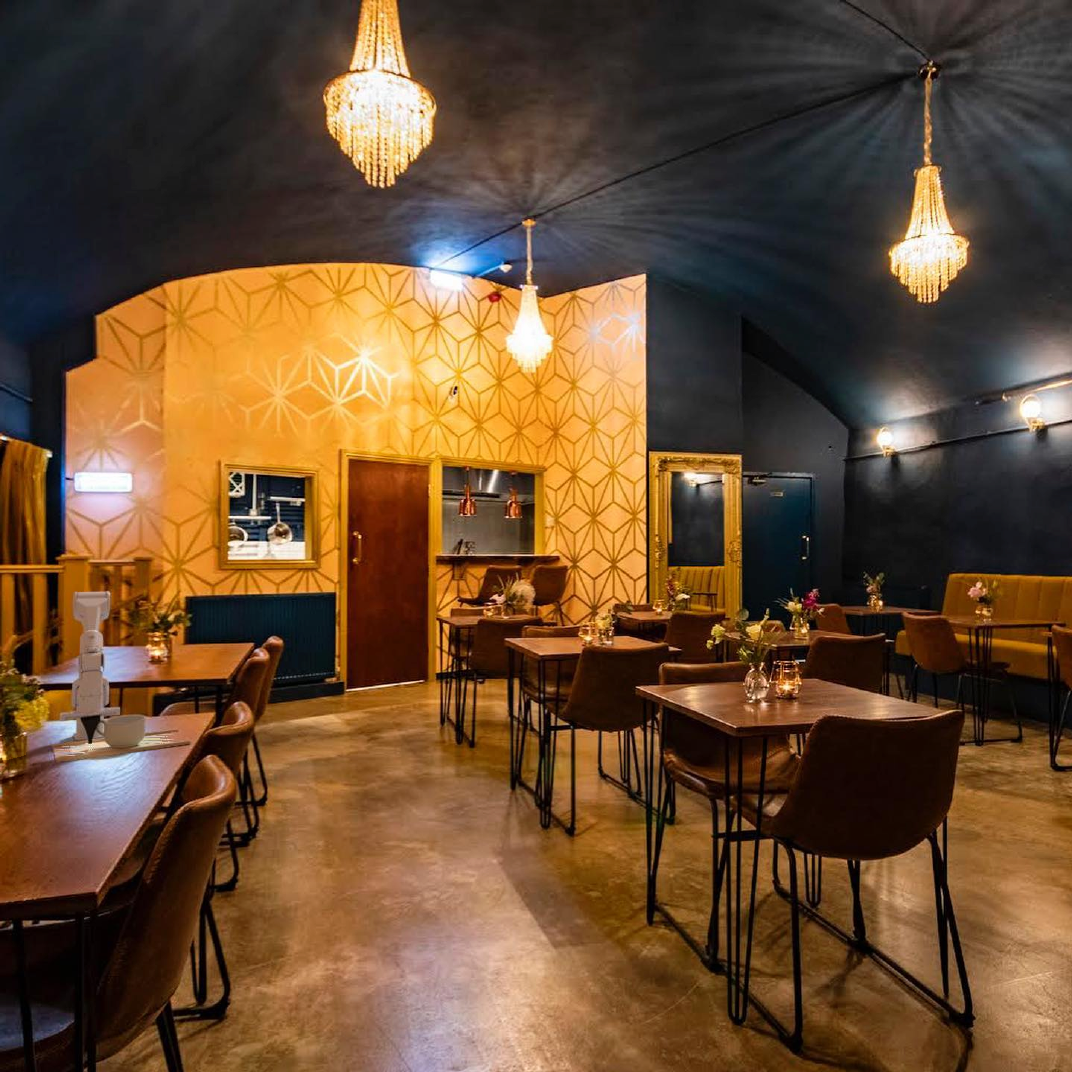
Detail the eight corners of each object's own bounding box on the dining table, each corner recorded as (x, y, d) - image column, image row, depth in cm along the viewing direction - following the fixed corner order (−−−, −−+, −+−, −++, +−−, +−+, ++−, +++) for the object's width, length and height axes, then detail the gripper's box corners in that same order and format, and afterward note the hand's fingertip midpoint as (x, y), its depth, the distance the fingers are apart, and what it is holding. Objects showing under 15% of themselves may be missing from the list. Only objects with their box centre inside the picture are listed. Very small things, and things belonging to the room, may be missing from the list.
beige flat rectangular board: (52, 747, 215) (52, 744, 215) (177, 731, 234) (177, 728, 234) (56, 762, 200) (56, 758, 200) (190, 744, 219) (190, 740, 219)
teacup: (154, 742, 219) (154, 715, 220) (125, 751, 209) (126, 722, 209) (114, 740, 223) (114, 713, 223) (84, 749, 212) (84, 720, 212)
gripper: (61, 699, 205) (60, 749, 205) (121, 694, 213) (121, 742, 213) (60, 696, 211) (59, 744, 210) (118, 690, 219) (117, 737, 219)
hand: (90, 743), depth 212 cm, fingers closed
